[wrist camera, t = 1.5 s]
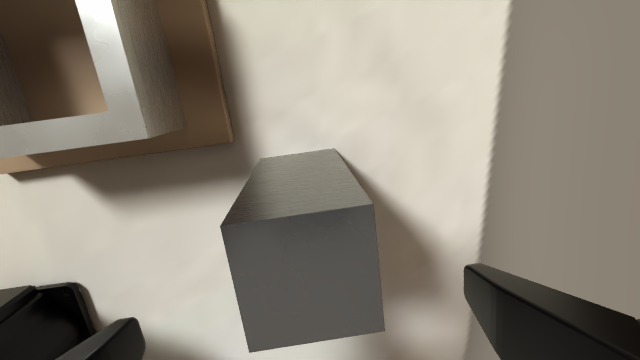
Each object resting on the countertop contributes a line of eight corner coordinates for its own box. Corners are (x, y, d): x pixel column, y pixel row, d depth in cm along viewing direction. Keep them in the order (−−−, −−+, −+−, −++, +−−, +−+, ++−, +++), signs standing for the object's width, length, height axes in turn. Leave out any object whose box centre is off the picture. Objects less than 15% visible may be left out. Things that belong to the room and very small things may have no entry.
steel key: (342, 217, 20) (384, 331, 10) (273, 227, 20) (249, 352, 10) (334, 148, 19) (373, 203, 9) (260, 158, 18) (220, 226, 9)
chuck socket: (187, 127, 17) (148, 138, 12) (19, 150, 16) (-81, 169, 12) (141, -64, 14) (74, -133, 10) (-55, -41, 14) (-212, -103, 10)
